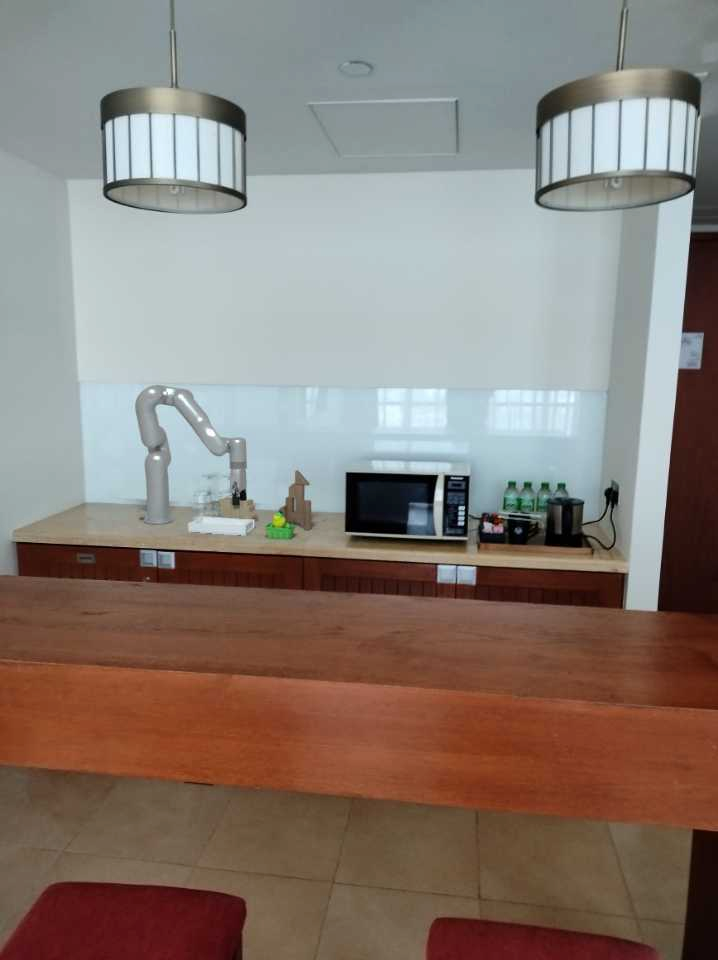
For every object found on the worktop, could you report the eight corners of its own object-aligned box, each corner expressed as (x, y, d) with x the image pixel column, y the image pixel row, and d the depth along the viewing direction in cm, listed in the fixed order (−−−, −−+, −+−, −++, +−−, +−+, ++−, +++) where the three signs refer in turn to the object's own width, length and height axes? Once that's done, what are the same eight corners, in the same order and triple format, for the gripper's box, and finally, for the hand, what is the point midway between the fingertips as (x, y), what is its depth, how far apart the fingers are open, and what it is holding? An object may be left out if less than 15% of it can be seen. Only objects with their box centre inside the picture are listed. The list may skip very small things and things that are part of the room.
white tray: (188, 532, 287) (188, 523, 287) (200, 525, 300) (200, 516, 299) (245, 536, 284) (245, 526, 283) (255, 528, 296) (255, 519, 296)
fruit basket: (296, 536, 285) (296, 510, 283) (289, 541, 277) (290, 514, 275) (270, 534, 287) (270, 508, 285) (263, 539, 279) (263, 512, 277)
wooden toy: (276, 527, 299) (276, 471, 295) (282, 523, 306) (283, 468, 301) (309, 530, 295) (309, 473, 290) (315, 527, 301) (315, 471, 296)
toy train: (252, 524, 304) (252, 502, 302) (218, 520, 309) (218, 498, 308) (258, 521, 309) (258, 500, 307) (224, 518, 314) (224, 496, 313)
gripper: (236, 462, 314) (238, 498, 317) (223, 468, 297) (225, 506, 300) (252, 462, 312) (253, 499, 316) (240, 468, 296) (241, 507, 299)
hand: (239, 502), depth 308 cm, fingers open, 9 cm apart
